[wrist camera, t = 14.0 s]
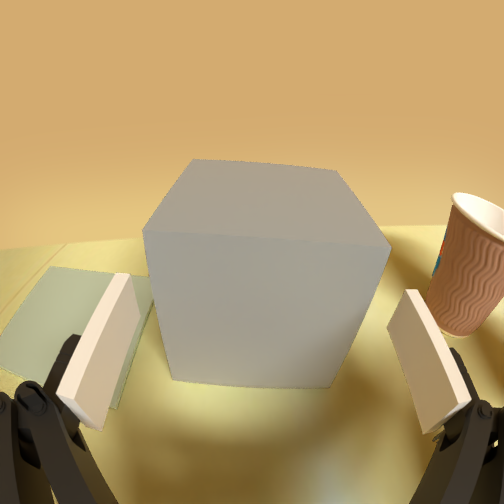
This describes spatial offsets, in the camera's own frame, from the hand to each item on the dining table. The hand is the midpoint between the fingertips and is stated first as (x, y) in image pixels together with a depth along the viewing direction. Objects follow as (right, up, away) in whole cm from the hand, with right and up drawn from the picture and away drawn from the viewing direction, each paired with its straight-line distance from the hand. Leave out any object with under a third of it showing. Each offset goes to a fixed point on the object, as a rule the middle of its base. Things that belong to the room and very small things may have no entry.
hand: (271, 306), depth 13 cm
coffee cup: (+20, -5, +12) cm, 24 cm away
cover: (-1, -4, +10) cm, 11 cm away
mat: (-17, -4, +8) cm, 19 cm away
